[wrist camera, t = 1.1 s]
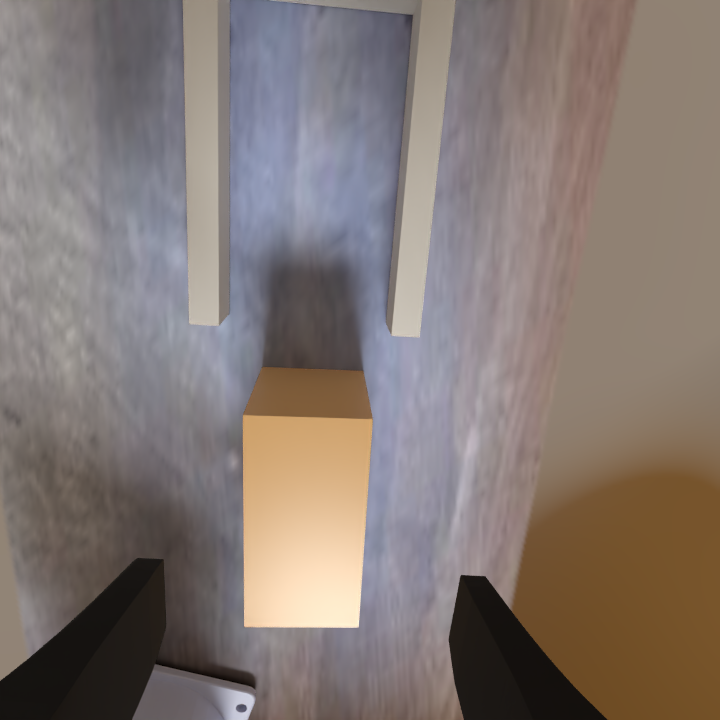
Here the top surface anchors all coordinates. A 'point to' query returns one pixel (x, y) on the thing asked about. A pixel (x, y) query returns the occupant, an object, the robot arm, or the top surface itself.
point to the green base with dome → (212, 153)
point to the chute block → (305, 497)
